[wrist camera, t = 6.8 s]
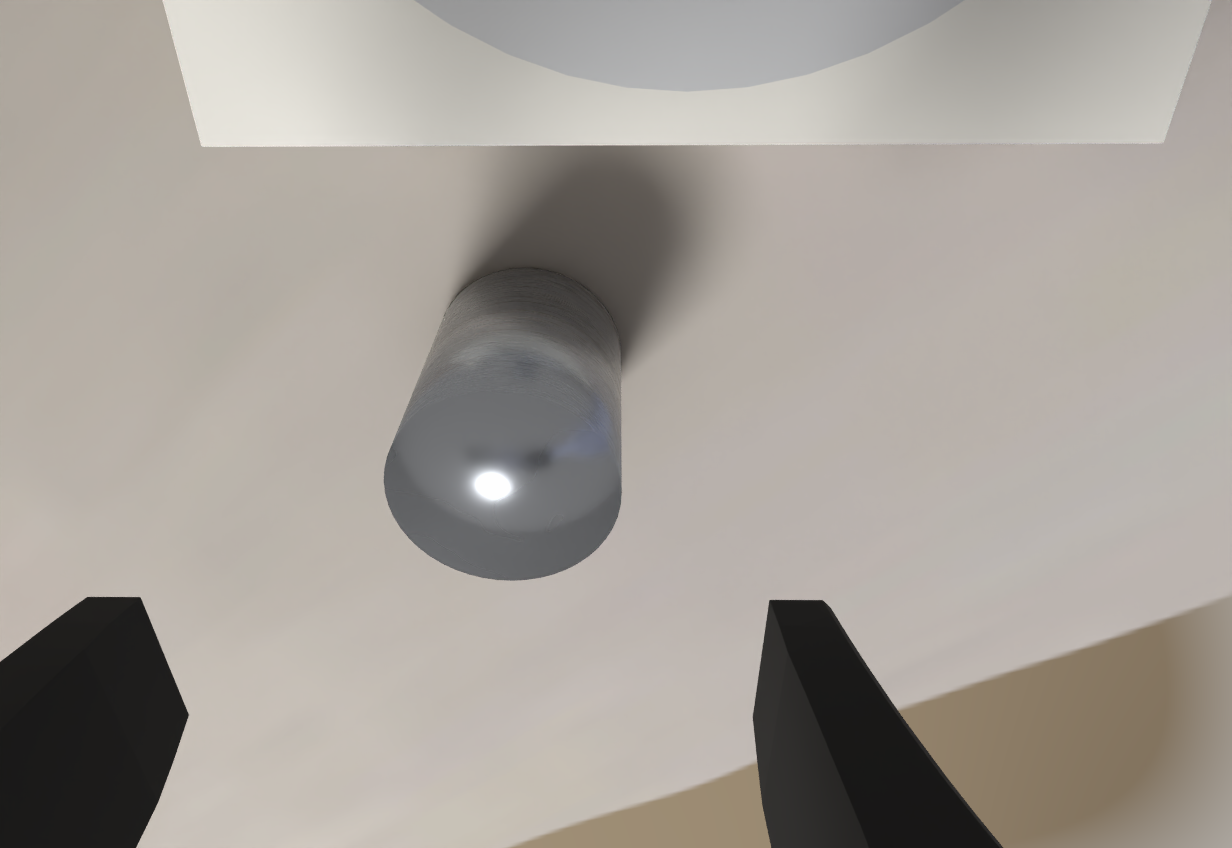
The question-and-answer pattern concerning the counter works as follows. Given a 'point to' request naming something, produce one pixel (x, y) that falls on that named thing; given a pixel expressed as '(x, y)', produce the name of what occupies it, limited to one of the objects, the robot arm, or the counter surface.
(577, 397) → the cylinder
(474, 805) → the counter surface
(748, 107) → the scale
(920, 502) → the counter surface
